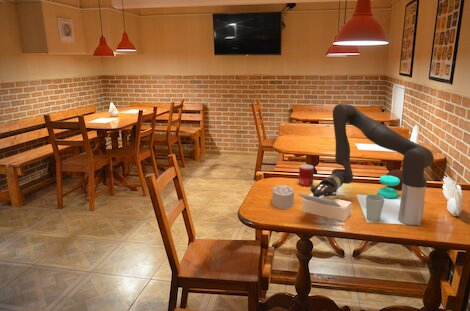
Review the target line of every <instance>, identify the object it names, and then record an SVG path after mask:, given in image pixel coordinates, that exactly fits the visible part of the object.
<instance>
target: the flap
mask: <svg viewBox="0 0 470 311" xmlns="http://www.w3.org/2000/svg"><path fill="white" fill-rule="evenodd" d="M297 195H298V196H300V197H301V198H302V199H306V200H310V201H315V202H319V203H324V204H328V205H333V206H337V207H340V205H339V204H337V203H336V202H335V201H333V200H329V199H324V198H319V197H315V196H310V195H309V194H304V193H301V192H297Z"/></svg>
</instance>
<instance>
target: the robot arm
mask: <svg viewBox="0 0 470 311" xmlns="http://www.w3.org/2000/svg"><path fill="white" fill-rule="evenodd" d="M332 122H333V129H334V139H335V158H334V159H335V164H336V165H339V166H342V167H343V168H344V169H342V168H336V169H333V170H332V171H331V174H330V175H328V176H326V177H325V178H324V179H322V180H321V181H320V182H319V183H318V184H316V185H314V184H313V185H310V188H309V190H310V192H311V194H313V196H315V197H320V196H325V197H334V196H337V194H338V189H339V188H340V187H342V186H343V184H347V185H349V184H351V183H352V182H353V181H354V174H353V169H352V166H351V165H352V164H351V159H350V158H351V145H350V141H349V139H348V135H347V124H349V125H351V126H352V127H354V128H357V129H359V131H360V132H361V133H362V134H363V135H364V137H365V138H366V139H368V140H369V141H371V142H372V143H373V144H375V145H376V146H379V147H380V148H383V149H386V150H390V151H393V152H396V153H398V154H400V155H403V157H402V158H403V159H402V166H401V167H402V169H401V171H402V178H403V185H402V190H401V194H400V202H399V210H398V218H397V220H399V222H401V223H403V224H406V225H410V226H421V223H422V221H423V214H424V208H425V197H426V190H427V184H428V179H427V178H426V177H424V176H425V175H424V173H425V169H427V168H429V167H430V166H431V165H433V163H434V160H435V158H434V154H433V152H432V151H431V150H430V149H429V148H427V147H425V146H424V145H421V144H419V143H417V142H414V141H413V140H410V139H408V138H406V137H405V136H403V135H401V134H400V133H398V132H396V131H395V130H393V129H391V128H390V127H388V126H387V125H384V124H383V123H381V122H379V121H377V120H375V119H373V118H371V117H369V116H367V115H366V114H365V113H364V112H361V110H359V108H358V109H357V108H356V107H355V106H353V105H351V104H348V103H346V104H345V103H338V104H336V105H335V106H334V107H333V110H332Z"/></svg>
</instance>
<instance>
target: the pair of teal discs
mask: <svg viewBox="0 0 470 311" xmlns="http://www.w3.org/2000/svg"><path fill="white" fill-rule="evenodd" d="M378 181H379V182H380V184H382V185H384V186H396V185H398V184H399V183H400V180H399V178H397V177H394V176H386V175H381V176H380V177H379V179H378ZM377 195H380V196H382V197H384V198H386V199H395V198H396V199H397V197H399V191H398V190H395V189H392V188H388V187H381V188H379V189H378V191H377Z"/></svg>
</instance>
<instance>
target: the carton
mask: <svg viewBox="0 0 470 311" xmlns="http://www.w3.org/2000/svg"><path fill="white" fill-rule="evenodd" d="M308 195H310V196H313V193H309V194H308ZM319 198H324V199H329V200H333V201H335V202H336V203H337V204H339V205H340V207H337V206H333V205H328V204H324V203H319V202H315V201H310V200H306V199H304V198H302V201H301V202H302V204H301V206H302V208H301V212H302V213H303V212H304V213H306V214H311V215H316V216H320V217H324V218H329V219H332V220H336V221H341V222H345V221H346V220H347V218H349V216H351V213H352V202H351V201H347V200H343V199H338V198H333V197H331V196H327V197H325V196H320V197H319Z"/></svg>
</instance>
